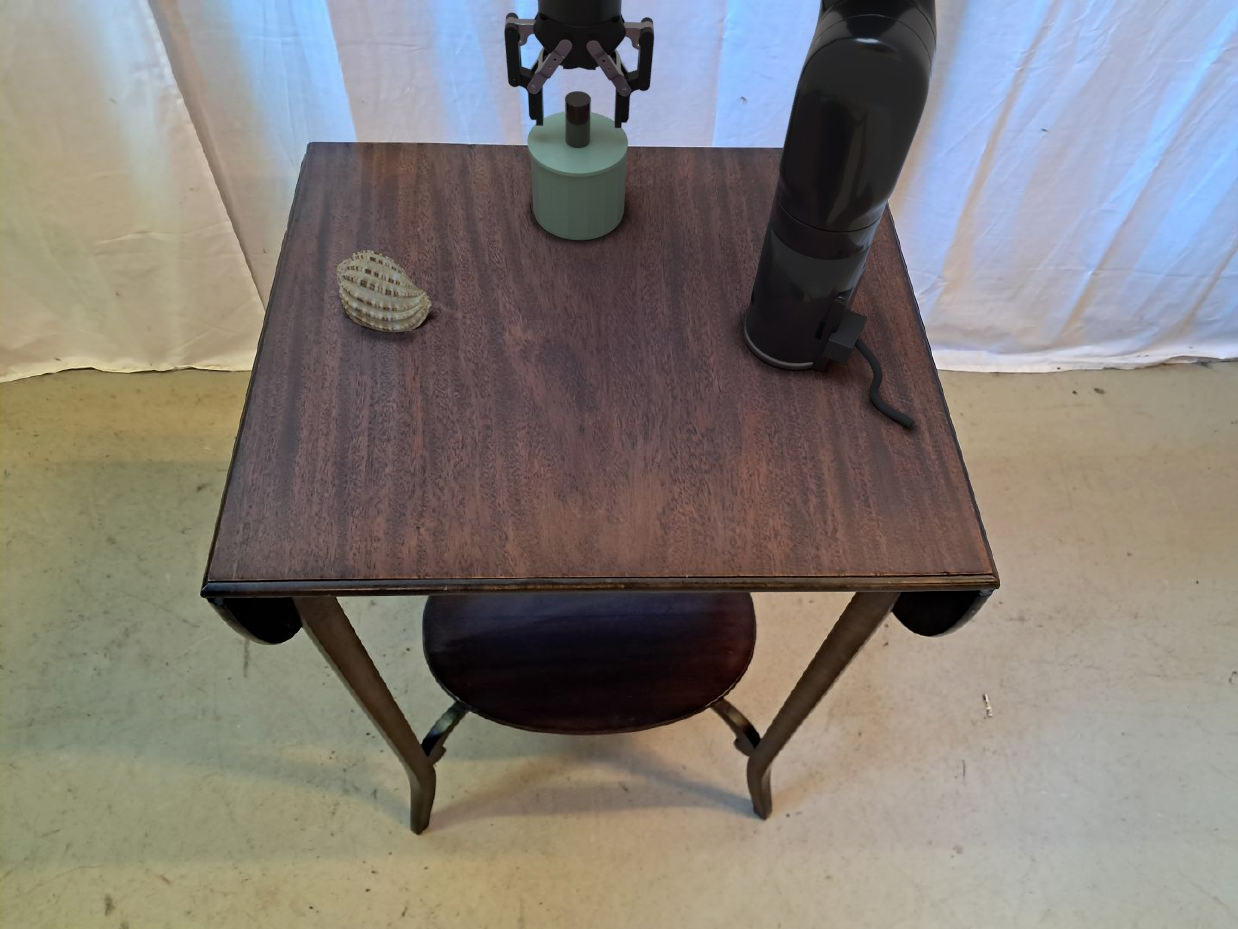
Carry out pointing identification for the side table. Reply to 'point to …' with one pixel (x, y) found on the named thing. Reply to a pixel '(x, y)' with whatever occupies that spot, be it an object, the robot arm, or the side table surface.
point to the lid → (577, 140)
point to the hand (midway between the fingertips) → (579, 122)
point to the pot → (578, 202)
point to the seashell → (381, 293)
